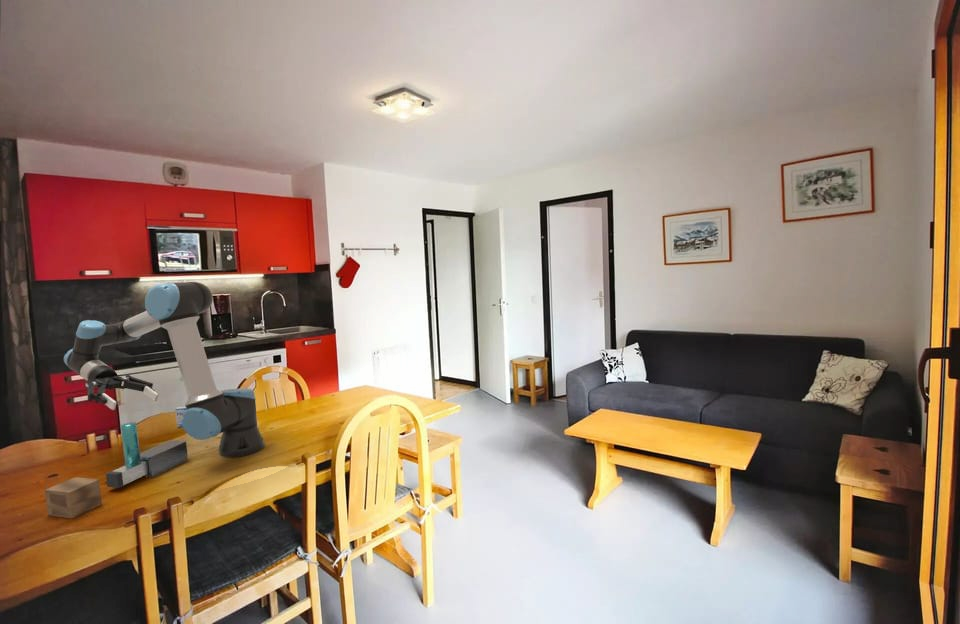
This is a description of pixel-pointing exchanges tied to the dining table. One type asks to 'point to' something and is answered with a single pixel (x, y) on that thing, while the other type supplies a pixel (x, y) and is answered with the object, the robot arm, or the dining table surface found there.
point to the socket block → (73, 497)
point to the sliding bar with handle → (128, 459)
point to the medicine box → (180, 415)
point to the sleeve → (164, 456)
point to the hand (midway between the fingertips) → (136, 401)
